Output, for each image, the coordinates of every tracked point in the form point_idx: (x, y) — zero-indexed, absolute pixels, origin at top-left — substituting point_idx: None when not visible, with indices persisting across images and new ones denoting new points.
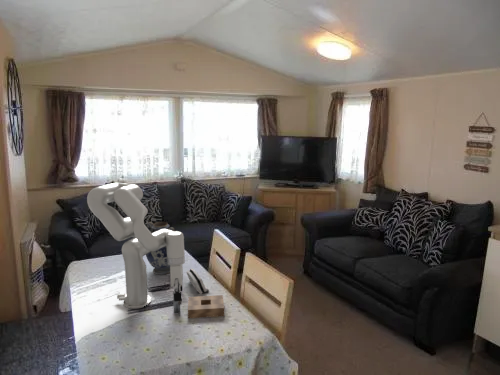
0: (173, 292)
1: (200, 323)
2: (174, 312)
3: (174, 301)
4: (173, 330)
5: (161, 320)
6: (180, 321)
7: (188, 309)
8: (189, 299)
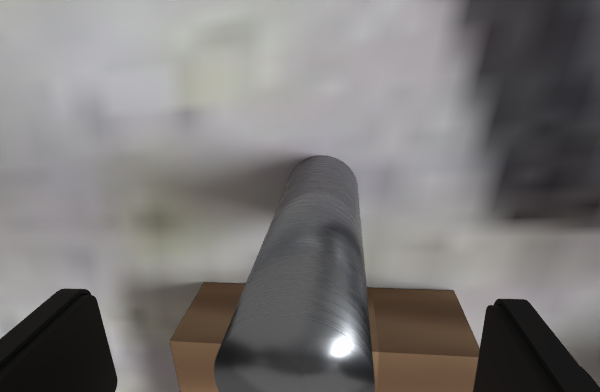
0: (253, 324)
1: (137, 359)
2: (297, 168)
3: (270, 232)
4: (8, 172)
5: (156, 35)
6: (152, 224)
7: (180, 347)
8: (410, 365)
